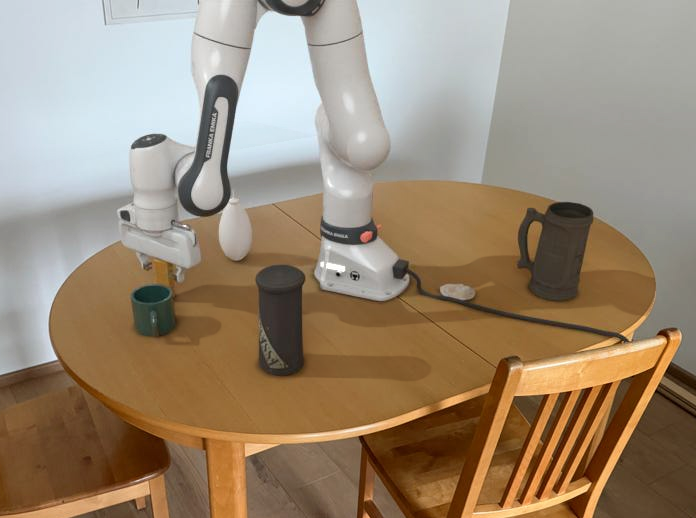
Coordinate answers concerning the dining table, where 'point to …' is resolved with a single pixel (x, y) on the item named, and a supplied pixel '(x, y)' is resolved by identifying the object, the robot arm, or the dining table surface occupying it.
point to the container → (280, 319)
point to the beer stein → (556, 249)
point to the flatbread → (458, 291)
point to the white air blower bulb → (235, 230)
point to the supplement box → (164, 273)
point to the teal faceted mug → (153, 309)
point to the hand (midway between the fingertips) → (163, 274)
